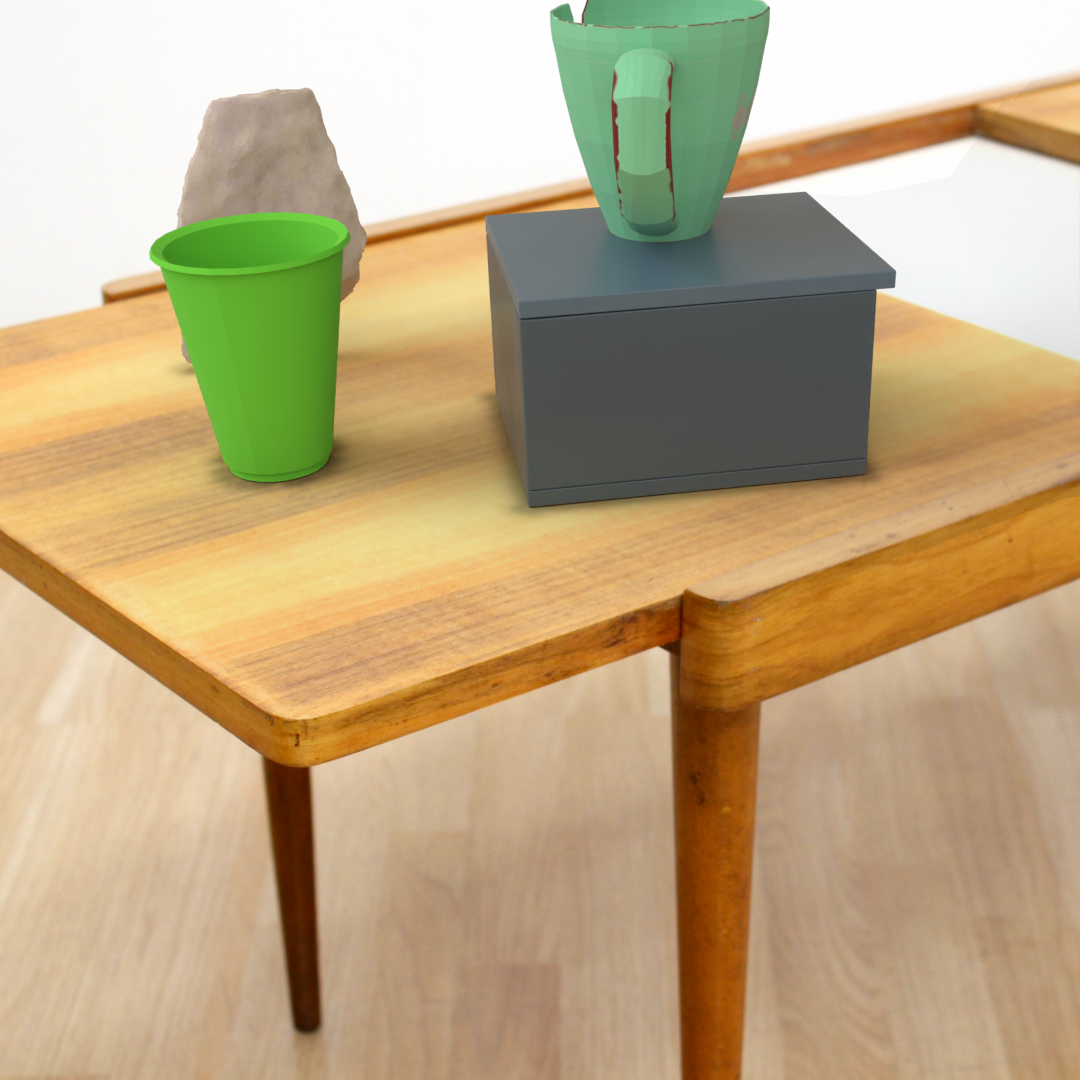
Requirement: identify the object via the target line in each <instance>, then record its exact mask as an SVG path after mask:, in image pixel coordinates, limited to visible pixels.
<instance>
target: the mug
mask: <svg viewBox="0 0 1080 1080" xmlns="http://www.w3.org/2000/svg"><path fill="white" fill-rule="evenodd" d="M549 16H550V17H549V25H550V34H551V39H552V45H553V49H554V53H555V57H556V63H557V68H558V73H559V79H560V83H561V88H562V93H563V97H564V101H565V104H566V108H567V113H568V116H569V119H570V123H571V127H572V130H573V135H574V138H575V141H576V145H577V147H578V151H579V153H580V157H581V160H582V163H583V166H584V169H585V172H586V176H587V178H588V181H589V184H590V187H591V189H592V191H593V194H594V196H595V199H596V201H597V203H598V207H600V209H601V211H602V214H603V216H604V219H605V221H606V223H607V226H608V228H609V231H610V232H611V233H612V234H614V235H615V236H617V237H620V238H623V239H627V240H633V241H639V242H674V241H681V240H688V239H691V238H695V237H698V236H701V235H703V234H705V233H707V232H708V230H709V229H710V227H711V225H712V222H713V220H714V217H715V215H716V213H717V210H718V208H719V205H720V203H721V200H722V198H724V195H725V192H726V190H727V188H728V185H729V183H730V181H731V178H732V175H733V171H734V169H735V165H736V162H737V159H738V155H739V153H740V149H741V146H742V143H743V141H744V140H743V139H744V138H745V134H746V130H747V127H748V123H749V120H750V117H751V116H750V115H751V112H752V109H753V105H754V100H755V97H756V93H757V89H758V85H759V79H760V75H761V71H762V70H761V69H762V65H763V60H764V56H765V55H764V53H765V48H766V45H767V44H766V43H767V40H768V35H769V31H770V19H771V7H770V6H769V5H768V3H766V2H765V1H764V0H586V1H585V5H584V7H583V10H582V13H581V22H576V21H575V18H574V15H573V11H572V8H571V5H570V3H569V2H566V3H563V4H562V3H561V4H560V5H558V6H556V7H554V8H552V9H551V10H550V11H549Z"/></svg>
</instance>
